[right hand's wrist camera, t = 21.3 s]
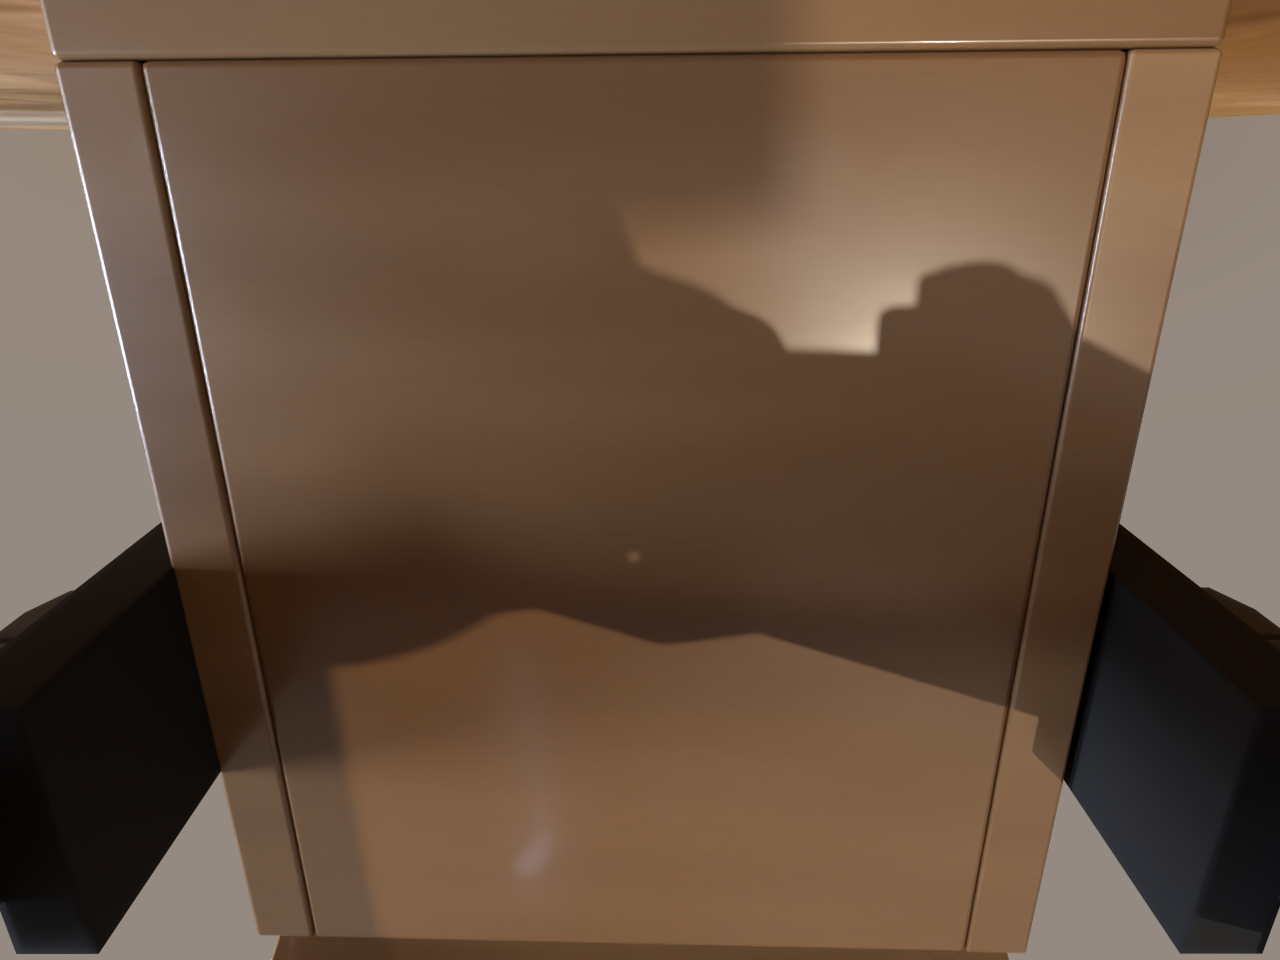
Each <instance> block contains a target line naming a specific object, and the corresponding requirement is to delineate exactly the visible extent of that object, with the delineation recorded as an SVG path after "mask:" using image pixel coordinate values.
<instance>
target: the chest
mask: <svg viewBox="0 0 1280 960" xmlns="http://www.w3.org/2000/svg"><path fill="white" fill-rule="evenodd" d="M1231 4H1232V0H40V5H41V9H42V13H43V17H44V22H45V26H46V30H47V35H48V39H49V43H50V47H51V51H52V53H53V55H54V57H56V58H57V59H59V60H62V62H60V63H58V64H56V69H55V70H56V74H57V79H58V83H59V87H60V91H61V96H62V100H63V104H64V108H65V113H66V117H67V121H68V126H69V130H70V134H71V138H72V142H73V147H74V151H75V155H76V160H77V164H78V168H79V172H80V177H81V181H82V185H83V190H84V194H85V198H86V202H87V207H88V211H89V215H90V219H91V224H92V228H93V232H94V236H95V241H96V245H97V249H98V253H99V258H100V262H101V266H102V271H103V275H104V279H105V283H106V288H107V292H108V296H109V300H110V305H111V309H112V313H113V317H114V322H115V326H116V330H117V334H118V339H119V343H120V347H121V351H122V356H123V360H124V364H125V369H126V373H127V377H128V381H129V386H130V390H131V394H132V399H133V403H134V407H135V411H136V416H137V420H138V424H139V428H140V433H141V437H142V441H143V445H144V450H145V454H146V458H147V462H148V467H149V471H150V475H151V480H152V484H153V488H154V492H155V497H156V501H157V505H158V509H159V514H160V518H161V522H162V526H163V531H164V535H165V539H166V544H167V548H168V552H169V556H170V561H171V565H172V567H173V568H174V570H175V575H176V579H177V583H178V588H179V592H180V597H181V601H182V605H183V610H184V614H185V619H186V623H187V627H188V632H189V636H190V641H191V645H192V649H193V654H194V658H195V663H196V667H197V671H198V676H199V680H200V685H201V689H202V693H203V698H204V702H205V706H206V711H207V715H208V720H209V724H210V728H211V733H212V737H213V742H214V746H215V750H216V755H217V759H218V764H219V768H220V774H221V778H222V782H223V787H224V791H225V795H226V799H227V804H228V808H229V812H230V816H231V821H232V825H233V829H234V834H235V838H236V842H237V846H238V850H239V855H240V859H241V863H242V868H243V872H244V876H245V880H246V884H247V889H248V893H249V898H250V902H251V906H252V910H253V915H254V919H255V923H256V927H257V932H258V934H259V935H262V936H299V937H310V936H313V935H314V934H315V932H316V934H317V936H320V937H352V938H396V939H441V940H486V941H530V942H575V943H619V944H664V945H708V946H753V947H797V948H842V949H886V950H931V951H961V950H963V949H964V947H965V949H966V951H968V952H985V953H1024V952H1026V948H1027V943H1028V939H1029V934H1030V929H1031V925H1032V920H1033V916H1034V911H1035V907H1036V902H1037V898H1038V893H1039V888H1040V884H1041V879H1042V875H1043V870H1044V865H1045V861H1046V856H1047V852H1048V847H1049V843H1050V838H1051V833H1052V829H1053V824H1054V820H1055V815H1056V810H1057V806H1058V801H1059V797H1060V792H1061V787H1062V783H1063V779H1064V774H1065V769H1066V765H1067V760H1068V756H1069V751H1070V747H1071V742H1072V737H1073V733H1074V728H1075V724H1076V719H1077V715H1078V710H1079V705H1080V701H1081V696H1082V692H1083V687H1084V682H1085V678H1086V673H1087V669H1088V664H1089V660H1090V655H1091V650H1092V646H1093V641H1094V637H1095V632H1096V628H1097V623H1098V618H1099V614H1100V609H1101V605H1102V600H1103V596H1104V591H1105V586H1106V582H1107V577H1108V573H1109V568H1110V564H1111V559H1112V554H1113V550H1114V545H1115V541H1116V536H1117V532H1118V527H1119V522H1120V518H1121V513H1122V509H1123V504H1124V499H1125V495H1126V490H1127V486H1128V481H1129V477H1130V472H1131V467H1132V463H1133V458H1134V454H1135V449H1136V445H1137V440H1138V435H1139V431H1140V426H1141V422H1142V417H1143V413H1144V408H1145V403H1146V399H1147V394H1148V390H1149V385H1150V381H1151V376H1152V371H1153V367H1154V362H1155V358H1156V353H1157V348H1158V344H1159V339H1160V335H1161V330H1162V325H1163V321H1164V316H1165V312H1166V307H1167V303H1168V298H1169V294H1170V289H1171V284H1172V280H1173V275H1174V271H1175V266H1176V262H1177V257H1178V252H1179V248H1180V243H1181V239H1182V234H1183V229H1184V225H1185V220H1186V216H1187V211H1188V207H1189V202H1190V197H1191V193H1192V188H1193V184H1194V179H1195V175H1196V170H1197V165H1198V161H1199V156H1200V152H1201V147H1202V142H1203V138H1204V133H1205V129H1206V124H1207V120H1208V115H1209V111H1210V106H1211V101H1212V97H1213V92H1214V88H1215V83H1216V79H1217V74H1218V69H1219V65H1220V60H1221V56H1222V52H1221V50H1220V49H1218V48H1213V47H1215V46H1217V45H1219V44H1220V43H1221V42H1222V40H1223V38H1224V36H1225V32H1226V27H1227V22H1228V18H1229V13H1230V9H1231Z"/></svg>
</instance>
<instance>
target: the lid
mask: <svg viewBox="0 0 1280 960" xmlns="http://www.w3.org/2000/svg"><path fill="white" fill-rule="evenodd" d="M271 960H1009V959H1008V955H1007V953H985V952H968V951H966V949H965V947H964V949H963V950H961V951H931V950H886V949H842V948H797V947H753V946H708V945H664V944H619V943H575V942H530V941H486V940H441V939H396V938H352V937H320V936H317V934H316V932H315V934H314V935H313V936H310V937H299V936H278V939H277V942H276V946H275V949H274V952H273V956H272V959H271Z"/></svg>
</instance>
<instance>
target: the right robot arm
mask: <svg viewBox="0 0 1280 960" xmlns="http://www.w3.org/2000/svg"><path fill="white" fill-rule="evenodd" d="M219 773H220V768H219V764H218V759H217V755H216V750H215V746H214V742H213V737H212V733H211V728H210V724H209V720H208V715H207V711H206V706H205V702H204V698H203V693H202V689H201V685H200V680H199V676H198V671H197V667H196V663H195V658H194V654H193V649H192V645H191V641H190V636H189V632H188V627H187V623H186V619H185V614H184V610H183V605H182V601H181V597H180V592H179V588H178V583H177V579H176V575H175V570H174V568H173V567H172V565H171V561H170V556H169V552H168V548H167V544H166V539H165V535H164V531H163V526H162V522H161V523H160V524H159V525H157V526H156V527H155V528H153V529H152V530H151V531H150V532H148V533H147V534H146V535H145V536H143V537H142V538H141V539H139V540H138V541H137V542H136V543H134V544H133V545H132V546H131V547H129V548H128V549H127V550H125V551H124V552H123V553H122V554H120V555H119V556H118V557H117V558H115V559H114V560H113V561H112V562H110V563H109V564H108V565H106V566H105V567H104V568H103V569H101V570H100V571H99V572H97V573H96V574H95V575H94V576H92V577H91V578H90V579H89V580H87V581H86V582H85V583H83V584H82V585H81V586H80V587H78V588H77V589H76V590H75V591H69V592H67V593H65V594H63V595H61V596H59V597H57V598H55V599H53V600H50V601H48V602H46V603H44V604H42V605H40V606H38V607H36V608H34V609H31V610H29V611H27V612H25V613H24V614H22V615H21V616H20V617H18V618H17V619H16V620H14V621H13V622H12V623H11V624H9V625H8V626H7V627H5V628H4V629H3V630H1V631H0V911H1V914H2V917H3V919H4V922H5V924H6V927H7V930H8V933H9V935H10V938H11V941H12V943H13V946H14V949H15V951H16V954H99V952H100V951H101V949H102V948H103V946H104V945H105V943H106V942H107V940H108V939H109V937H110V936H111V934H112V933H113V931H114V930H115V928H116V927H117V926H118V924H119V923H120V921H121V920H122V918H123V917H124V915H125V914H126V912H127V911H128V909H129V908H130V906H131V905H132V903H133V902H134V900H135V899H136V897H137V896H138V894H139V893H140V891H141V890H142V888H143V887H144V885H145V884H146V882H147V881H148V879H149V878H150V876H151V875H152V873H153V872H154V870H155V869H156V867H157V866H158V864H159V863H160V861H161V860H162V858H163V857H164V855H165V854H166V852H167V851H168V849H169V848H170V846H171V845H172V843H173V842H174V840H175V839H176V837H177V836H178V834H179V833H180V831H181V830H182V828H183V827H184V825H185V824H186V822H187V821H188V819H189V818H190V816H191V815H192V813H193V812H194V810H195V809H196V808H197V806H198V805H199V803H200V802H201V800H202V799H203V797H204V796H205V794H206V793H207V791H208V790H209V788H210V787H211V785H212V784H213V782H214V781H215V779H216V778H217V776H218V775H219ZM1064 781H1065V782H1066V784H1067V785H1068V787H1069V788H1070V790H1071V791H1072V792H1073V794H1074V796H1075V797H1076V798H1077V800H1078V801H1079V803H1080V805H1081V806H1082V807H1083V809H1084V810H1085V812H1086V813H1087V815H1088V816H1089V818H1090V819H1091V821H1092V822H1093V824H1094V825H1095V827H1096V828H1097V830H1098V831H1099V833H1100V834H1101V836H1102V837H1103V839H1104V840H1105V842H1106V843H1107V845H1108V846H1109V848H1110V849H1111V851H1112V852H1113V854H1114V855H1115V857H1116V858H1117V860H1118V861H1119V863H1120V864H1121V866H1122V867H1123V869H1124V870H1125V872H1126V873H1127V875H1128V876H1129V878H1130V879H1131V881H1132V882H1133V884H1134V885H1135V887H1136V888H1137V890H1138V891H1139V893H1140V894H1141V896H1142V897H1143V899H1144V900H1145V902H1146V903H1147V905H1148V906H1149V908H1150V909H1151V911H1152V912H1153V914H1154V915H1155V917H1156V918H1157V920H1158V921H1159V923H1160V924H1161V925H1162V927H1163V929H1164V930H1165V931H1166V933H1167V934H1168V936H1169V938H1170V939H1171V941H1172V942H1173V944H1174V945H1175V946H1176V948H1177V950H1178V951H1179V952H1180V953H1220V954H1222V953H1223V954H1225V953H1226V954H1227V953H1229V954H1230V953H1231V954H1232V953H1235V954H1239V953H1240V954H1242V953H1243V954H1244V953H1245V954H1252V953H1253V954H1261V953H1263V950H1264V947H1265V945H1266V942H1267V939H1268V937H1269V934H1270V931H1271V929H1272V926H1273V923H1274V921H1275V918H1276V915H1277V913H1278V910H1279V907H1280V628H1279V627H1278V626H1276V625H1275V624H1274V623H1272V622H1271V621H1270V620H1268V619H1267V618H1266V617H1264V616H1263V615H1262V614H1260V613H1259V612H1258V611H1256V610H1255V609H1253V608H1251V607H1249V606H1247V605H1245V604H1242V603H1240V602H1238V601H1236V600H1234V599H1232V598H1230V597H1228V596H1226V595H1223V594H1221V593H1219V592H1217V591H1215V590H1213V589H1211V588H1201V587H1199V586H1198V585H1197V584H1195V583H1194V582H1193V581H1192V580H1190V579H1189V578H1188V577H1186V576H1185V575H1184V574H1183V573H1181V572H1180V571H1179V570H1178V569H1176V568H1175V567H1174V566H1173V565H1171V564H1170V563H1169V562H1167V561H1166V560H1165V559H1164V558H1162V557H1161V556H1160V555H1159V554H1157V553H1156V552H1155V551H1154V550H1152V549H1151V548H1150V547H1148V546H1147V545H1146V544H1145V543H1143V542H1142V541H1141V540H1140V539H1138V538H1137V537H1136V536H1134V535H1133V534H1132V533H1131V532H1129V531H1128V530H1127V529H1126V528H1124V527H1123V526H1122V525H1120V524H1119V527H1118V532H1117V536H1116V541H1115V545H1114V550H1113V554H1112V559H1111V564H1110V568H1109V573H1108V577H1107V582H1106V586H1105V591H1104V596H1103V600H1102V605H1101V609H1100V614H1099V618H1098V623H1097V628H1096V632H1095V637H1094V641H1093V646H1092V650H1091V655H1090V660H1089V664H1088V669H1087V673H1086V678H1085V682H1084V687H1083V692H1082V696H1081V701H1080V705H1079V710H1078V715H1077V719H1076V724H1075V728H1074V733H1073V737H1072V742H1071V747H1070V751H1069V756H1068V760H1067V765H1066V769H1065V774H1064Z"/></svg>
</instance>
